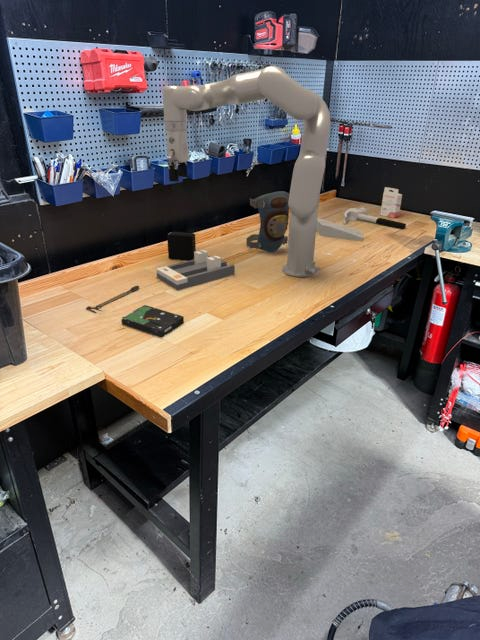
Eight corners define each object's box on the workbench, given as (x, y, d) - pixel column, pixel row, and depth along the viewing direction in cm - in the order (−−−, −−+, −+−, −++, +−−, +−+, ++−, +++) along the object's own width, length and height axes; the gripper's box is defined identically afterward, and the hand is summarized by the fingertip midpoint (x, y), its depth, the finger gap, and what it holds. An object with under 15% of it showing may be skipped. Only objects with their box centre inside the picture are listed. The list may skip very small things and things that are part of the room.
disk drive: (184, 324, 131) (145, 312, 138) (184, 316, 130) (144, 304, 136) (162, 339, 123) (121, 326, 130) (161, 330, 122) (120, 317, 128)
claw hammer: (413, 217, 223) (358, 205, 240) (394, 226, 209) (337, 213, 226) (411, 228, 226) (357, 215, 243) (391, 238, 211) (335, 223, 228)
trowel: (373, 238, 207) (375, 226, 204) (353, 245, 197) (355, 233, 194) (323, 225, 225) (324, 215, 222) (303, 232, 215) (304, 220, 212)
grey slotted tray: (234, 274, 165) (234, 265, 163) (177, 290, 151) (177, 280, 150) (212, 263, 174) (212, 254, 173) (156, 277, 161) (156, 268, 159)
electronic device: (193, 261, 177) (192, 236, 172) (168, 259, 178) (166, 234, 174) (196, 257, 180) (195, 233, 176) (172, 255, 182) (170, 231, 177)
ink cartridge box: (399, 216, 240) (403, 188, 233) (394, 218, 237) (398, 189, 230) (384, 213, 246) (389, 185, 239) (379, 215, 242) (383, 186, 236)
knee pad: (258, 258, 180) (260, 194, 168) (238, 244, 196) (238, 184, 184) (298, 252, 186) (302, 190, 175) (275, 239, 202) (278, 181, 191)
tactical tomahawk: (99, 318, 135) (99, 315, 135) (85, 310, 138) (84, 307, 138) (150, 293, 150) (150, 290, 150) (136, 287, 153) (136, 284, 153)
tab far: (208, 264, 167) (207, 250, 165) (199, 266, 165) (198, 252, 163) (203, 262, 170) (203, 248, 167) (194, 264, 167) (194, 250, 165)
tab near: (221, 270, 162) (220, 256, 159) (211, 273, 160) (211, 258, 157) (216, 268, 164) (215, 254, 162) (207, 270, 162) (206, 256, 159)
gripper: (178, 128, 145) (181, 183, 153) (194, 125, 160) (195, 175, 168) (156, 128, 147) (160, 182, 155) (173, 124, 162) (176, 174, 170)
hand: (178, 178), depth 161 cm, fingers open, 9 cm apart
